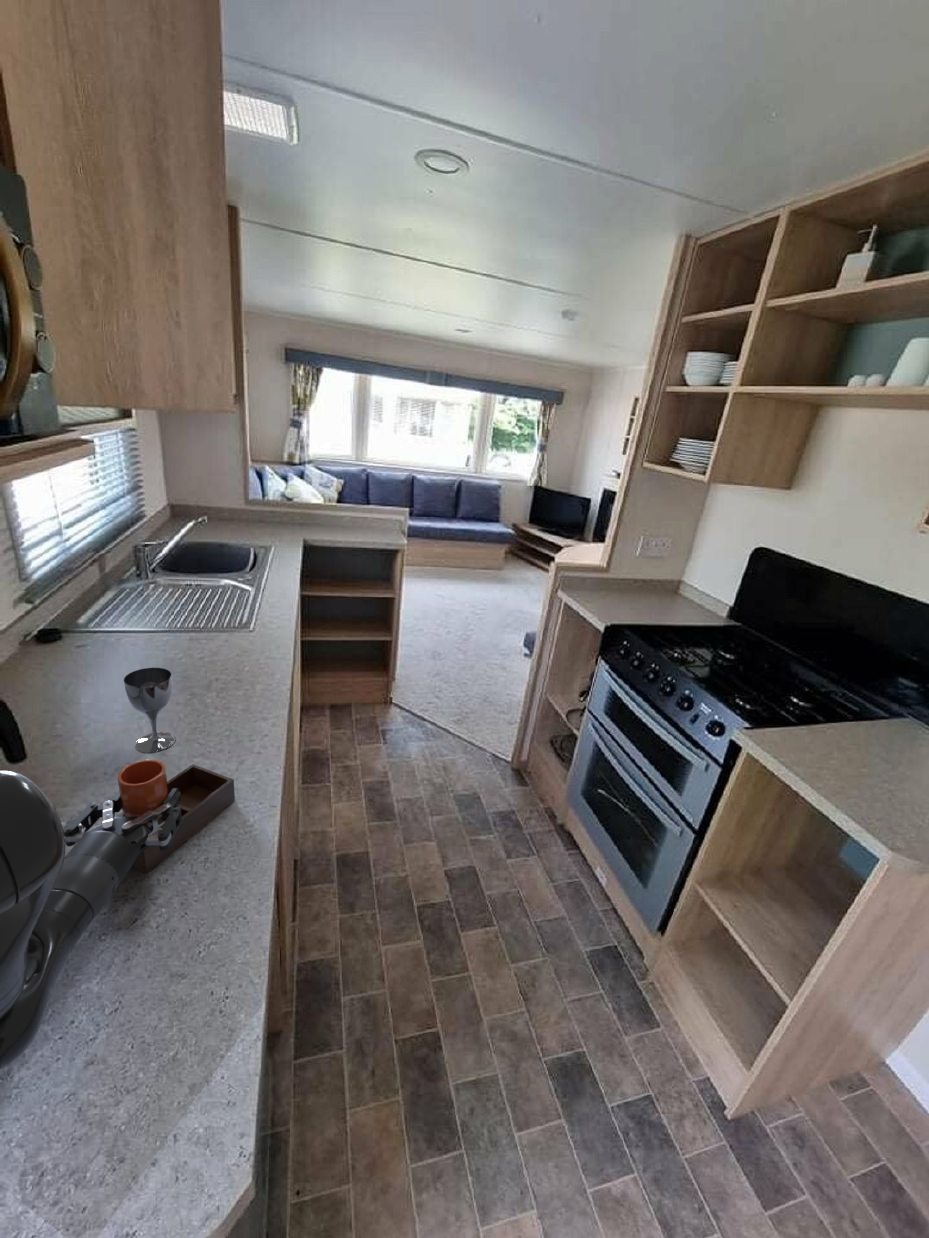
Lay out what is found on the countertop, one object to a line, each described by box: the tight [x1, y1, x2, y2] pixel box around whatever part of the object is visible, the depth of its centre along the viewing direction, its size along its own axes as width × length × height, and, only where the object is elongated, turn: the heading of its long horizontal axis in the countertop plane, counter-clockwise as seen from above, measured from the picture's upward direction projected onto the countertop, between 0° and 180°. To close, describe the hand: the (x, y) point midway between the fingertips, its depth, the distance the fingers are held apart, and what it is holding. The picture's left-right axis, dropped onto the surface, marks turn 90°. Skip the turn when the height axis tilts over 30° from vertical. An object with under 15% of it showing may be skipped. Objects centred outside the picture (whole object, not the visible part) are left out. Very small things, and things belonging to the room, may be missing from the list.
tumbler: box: [117, 759, 168, 834], centre depth 79 cm, size 6×6×13 cm
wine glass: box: [123, 667, 174, 754], centre depth 102 cm, size 8×8×15 cm
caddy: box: [115, 763, 236, 874], centre depth 85 cm, size 9×18×5 cm, turn 160°
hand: (152, 791), depth 81 cm, fingers open, 6 cm apart
